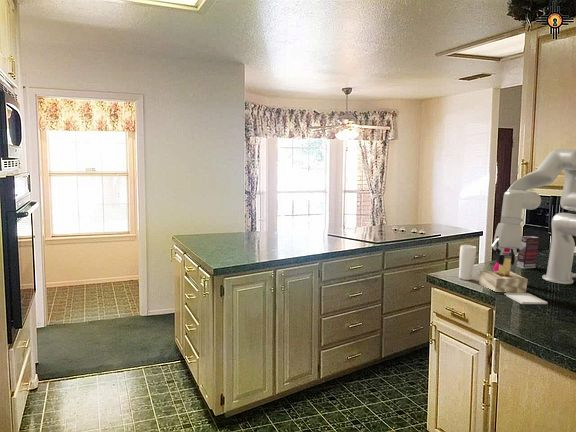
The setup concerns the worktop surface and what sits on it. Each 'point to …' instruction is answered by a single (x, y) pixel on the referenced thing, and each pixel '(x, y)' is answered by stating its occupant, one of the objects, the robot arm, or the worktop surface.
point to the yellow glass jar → (505, 266)
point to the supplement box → (528, 252)
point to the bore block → (503, 282)
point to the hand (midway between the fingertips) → (505, 263)
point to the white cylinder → (466, 261)
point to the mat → (525, 298)
